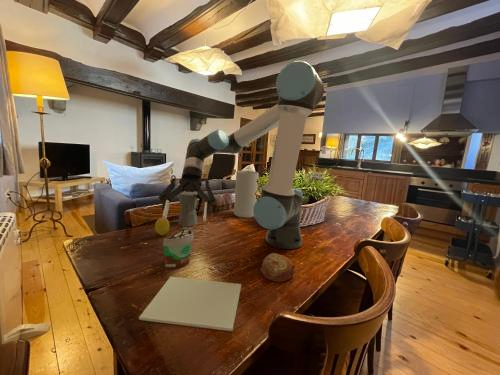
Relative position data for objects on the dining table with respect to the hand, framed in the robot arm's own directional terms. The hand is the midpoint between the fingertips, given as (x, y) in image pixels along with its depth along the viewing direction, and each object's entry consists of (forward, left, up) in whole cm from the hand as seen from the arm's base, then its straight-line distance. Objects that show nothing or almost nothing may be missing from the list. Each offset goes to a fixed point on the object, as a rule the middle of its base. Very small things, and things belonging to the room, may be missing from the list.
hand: (184, 219), depth 79 cm
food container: (-3, +8, -12) cm, 15 cm away
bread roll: (-33, +8, -12) cm, 36 cm away
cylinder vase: (-17, -53, -12) cm, 57 cm away
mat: (-13, +25, -12) cm, 30 cm away
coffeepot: (+8, -29, -12) cm, 33 cm away
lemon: (+13, -12, -12) cm, 22 cm away
